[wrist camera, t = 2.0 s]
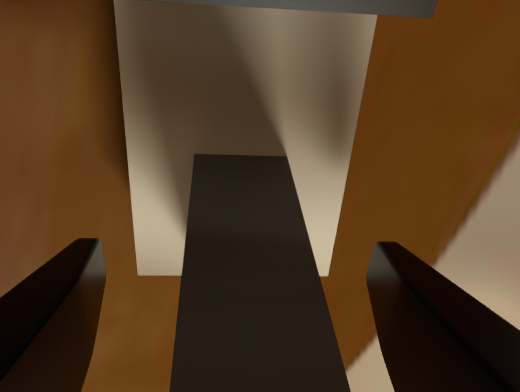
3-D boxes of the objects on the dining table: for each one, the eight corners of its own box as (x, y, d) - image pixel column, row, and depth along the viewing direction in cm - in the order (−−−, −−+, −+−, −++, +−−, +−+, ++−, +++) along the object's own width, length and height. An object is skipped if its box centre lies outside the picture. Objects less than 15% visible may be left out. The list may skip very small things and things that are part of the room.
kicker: (318, 242, 13) (407, 546, 7) (145, 241, 13) (73, 564, 6) (372, -87, 9) (718, -72, 3) (119, -108, 9) (-153, -146, 2)
